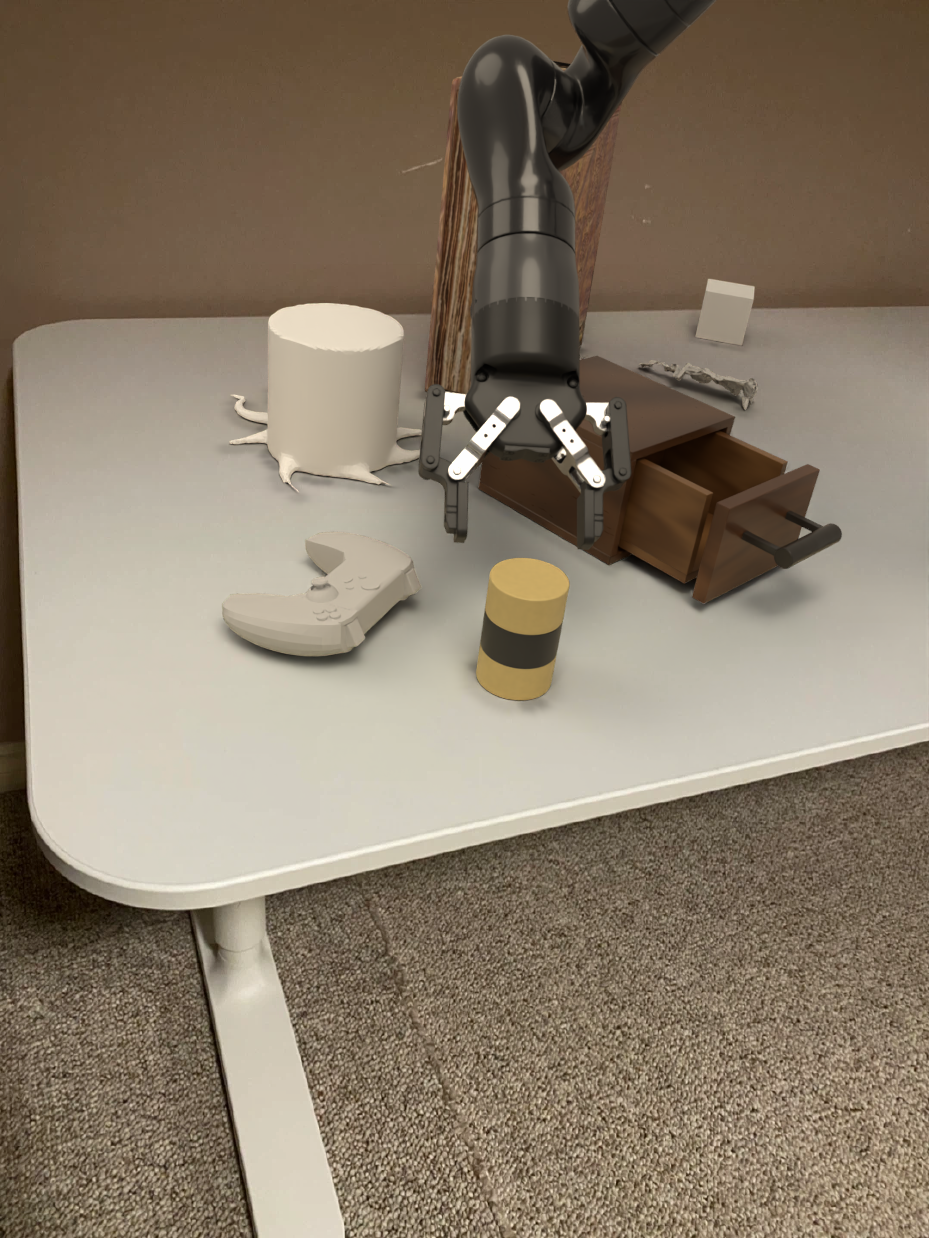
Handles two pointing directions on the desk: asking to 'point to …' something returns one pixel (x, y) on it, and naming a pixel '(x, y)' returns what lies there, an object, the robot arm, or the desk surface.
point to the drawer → (721, 513)
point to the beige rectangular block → (725, 312)
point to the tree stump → (332, 392)
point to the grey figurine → (708, 376)
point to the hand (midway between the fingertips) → (523, 543)
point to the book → (460, 240)
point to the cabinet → (651, 427)
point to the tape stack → (521, 628)
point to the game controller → (328, 598)
